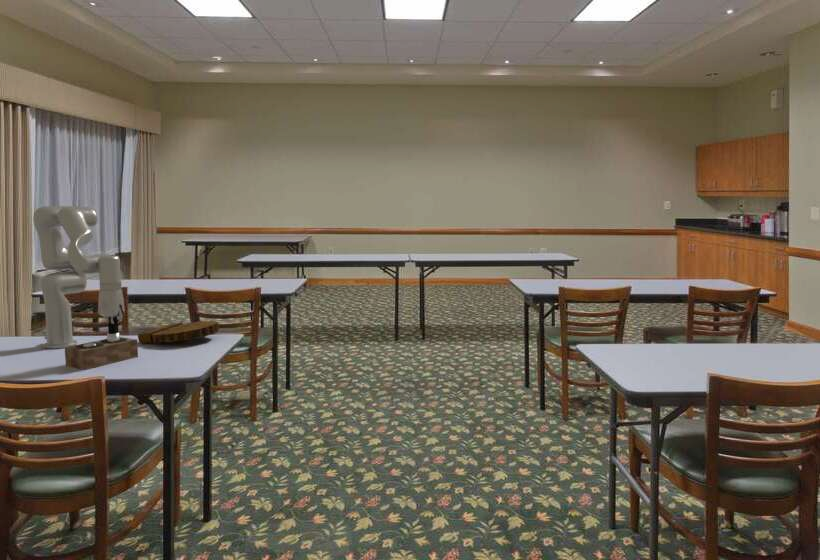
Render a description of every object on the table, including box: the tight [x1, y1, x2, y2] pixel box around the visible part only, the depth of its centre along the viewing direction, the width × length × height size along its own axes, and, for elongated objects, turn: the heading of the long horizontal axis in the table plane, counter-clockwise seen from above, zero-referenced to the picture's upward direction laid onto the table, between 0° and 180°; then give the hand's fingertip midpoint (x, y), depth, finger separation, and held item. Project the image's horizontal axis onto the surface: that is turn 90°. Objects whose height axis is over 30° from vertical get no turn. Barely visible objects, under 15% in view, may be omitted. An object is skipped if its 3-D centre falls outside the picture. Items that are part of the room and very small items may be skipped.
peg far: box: [106, 331, 121, 341], centre depth 231 cm, size 4×4×8 cm
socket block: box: [64, 336, 139, 371], centre depth 227 cm, size 12×22×8 cm, turn 153°
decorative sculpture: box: [137, 320, 220, 344], centre depth 265 cm, size 30×7×30 cm
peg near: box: [82, 342, 96, 347], centre depth 222 cm, size 4×4×8 cm
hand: (113, 333), depth 230 cm, fingers closed
